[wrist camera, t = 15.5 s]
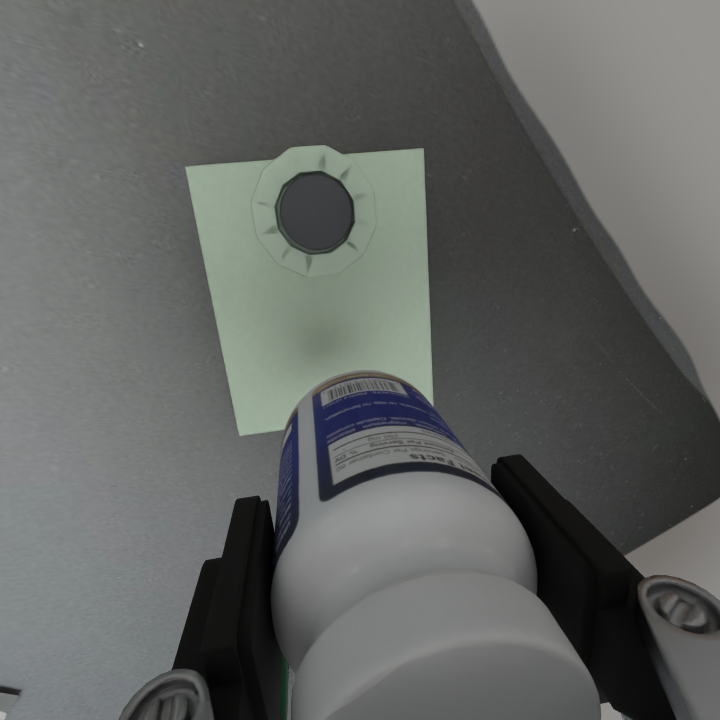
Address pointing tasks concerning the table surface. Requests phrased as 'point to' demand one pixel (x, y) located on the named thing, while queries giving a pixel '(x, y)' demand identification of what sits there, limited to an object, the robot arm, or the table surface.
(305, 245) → the button
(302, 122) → the table surface
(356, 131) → the table surface
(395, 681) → the pill bottle
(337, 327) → the scale
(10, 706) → the crossbow
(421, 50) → the table surface
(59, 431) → the table surface
